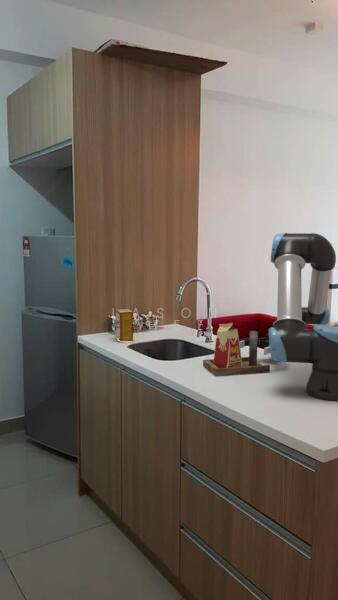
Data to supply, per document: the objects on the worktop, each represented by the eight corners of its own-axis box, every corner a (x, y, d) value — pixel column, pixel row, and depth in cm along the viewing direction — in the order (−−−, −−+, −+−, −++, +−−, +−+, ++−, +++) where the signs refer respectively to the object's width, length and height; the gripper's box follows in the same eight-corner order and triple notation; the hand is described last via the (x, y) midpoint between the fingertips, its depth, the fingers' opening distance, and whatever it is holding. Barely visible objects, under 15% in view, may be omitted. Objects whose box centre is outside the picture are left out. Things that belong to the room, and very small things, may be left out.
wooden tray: (269, 371, 193) (271, 335, 191) (215, 375, 187) (216, 337, 185) (254, 362, 207) (255, 327, 205) (203, 365, 201) (203, 330, 199)
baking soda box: (133, 342, 245) (132, 311, 243) (120, 343, 243) (120, 311, 241) (128, 338, 254) (127, 308, 252) (116, 339, 252) (115, 308, 250)
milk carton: (243, 370, 195) (244, 322, 192) (226, 374, 189) (227, 324, 187) (227, 366, 202) (228, 318, 199) (210, 369, 196) (211, 321, 194)
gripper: (301, 353, 204) (277, 363, 188) (250, 344, 220) (223, 353, 204) (302, 335, 203) (278, 344, 187) (250, 328, 219) (224, 335, 203)
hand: (249, 348), depth 196 cm, fingers open, 13 cm apart
